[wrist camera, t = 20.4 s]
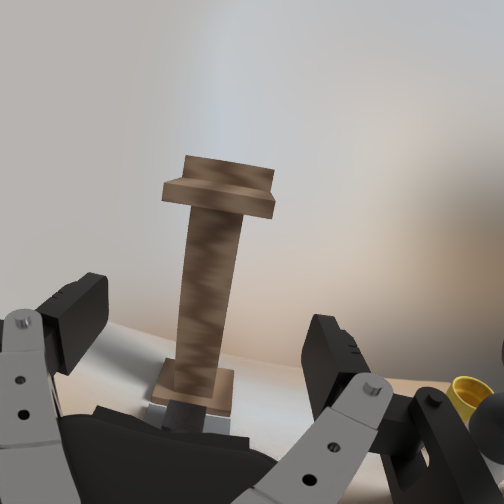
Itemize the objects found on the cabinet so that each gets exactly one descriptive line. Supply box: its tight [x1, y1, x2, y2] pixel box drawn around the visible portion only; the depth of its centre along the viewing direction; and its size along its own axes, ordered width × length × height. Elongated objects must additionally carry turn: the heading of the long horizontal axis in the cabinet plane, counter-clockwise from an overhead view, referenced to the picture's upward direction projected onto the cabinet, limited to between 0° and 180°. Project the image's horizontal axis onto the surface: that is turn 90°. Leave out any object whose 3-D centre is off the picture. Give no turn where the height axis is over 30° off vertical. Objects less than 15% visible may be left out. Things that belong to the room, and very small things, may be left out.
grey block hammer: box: [161, 399, 207, 433], centre depth 29 cm, size 5×16×4 cm, turn 0°
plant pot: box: [446, 376, 494, 424], centre depth 38 cm, size 10×10×10 cm
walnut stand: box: [152, 155, 275, 417], centre depth 41 cm, size 12×10×35 cm
